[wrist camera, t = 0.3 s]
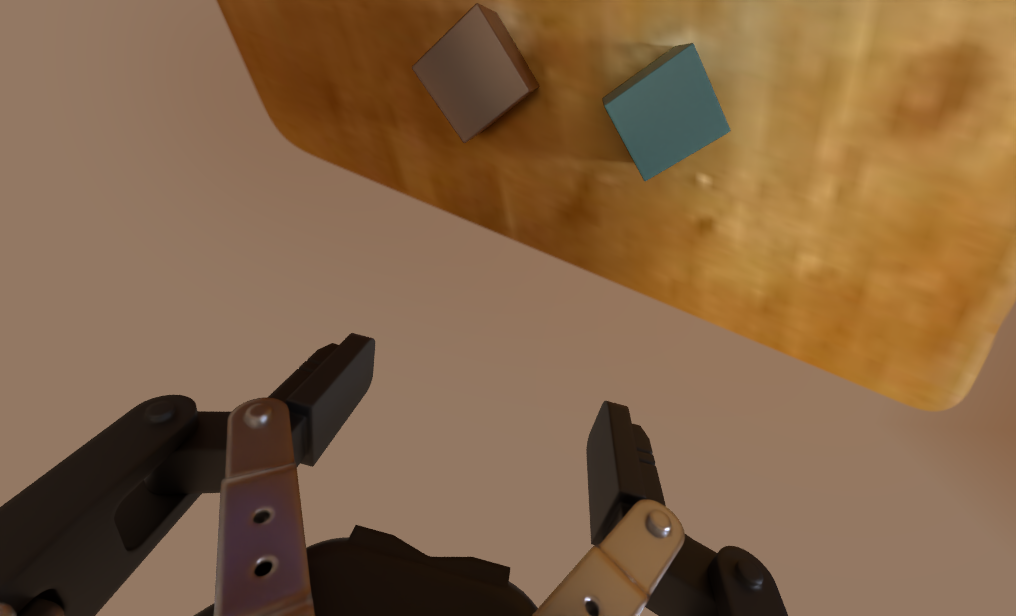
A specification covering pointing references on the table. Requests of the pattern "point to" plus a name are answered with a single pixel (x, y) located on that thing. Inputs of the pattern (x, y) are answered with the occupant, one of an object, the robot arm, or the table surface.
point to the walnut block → (475, 72)
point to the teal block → (666, 111)
